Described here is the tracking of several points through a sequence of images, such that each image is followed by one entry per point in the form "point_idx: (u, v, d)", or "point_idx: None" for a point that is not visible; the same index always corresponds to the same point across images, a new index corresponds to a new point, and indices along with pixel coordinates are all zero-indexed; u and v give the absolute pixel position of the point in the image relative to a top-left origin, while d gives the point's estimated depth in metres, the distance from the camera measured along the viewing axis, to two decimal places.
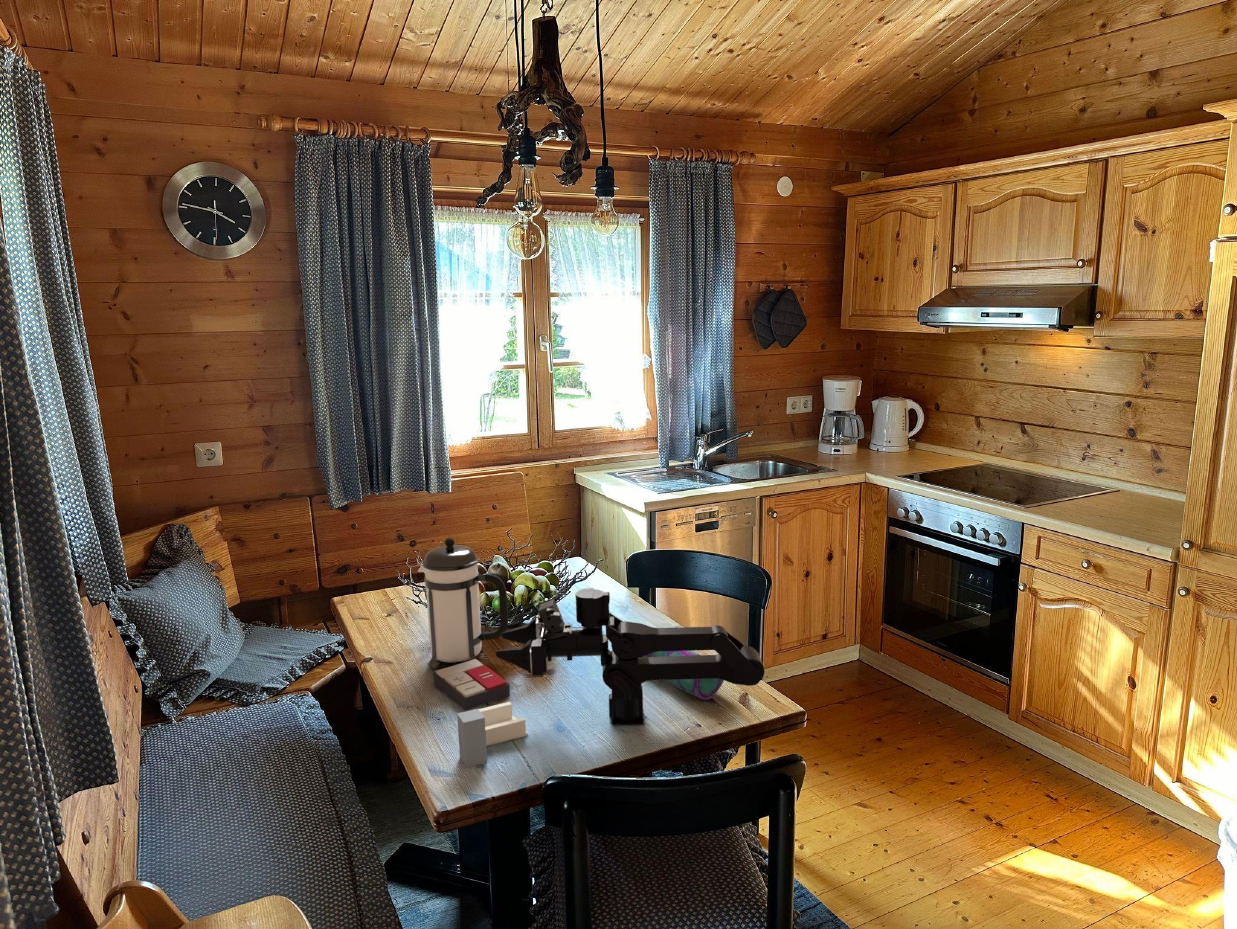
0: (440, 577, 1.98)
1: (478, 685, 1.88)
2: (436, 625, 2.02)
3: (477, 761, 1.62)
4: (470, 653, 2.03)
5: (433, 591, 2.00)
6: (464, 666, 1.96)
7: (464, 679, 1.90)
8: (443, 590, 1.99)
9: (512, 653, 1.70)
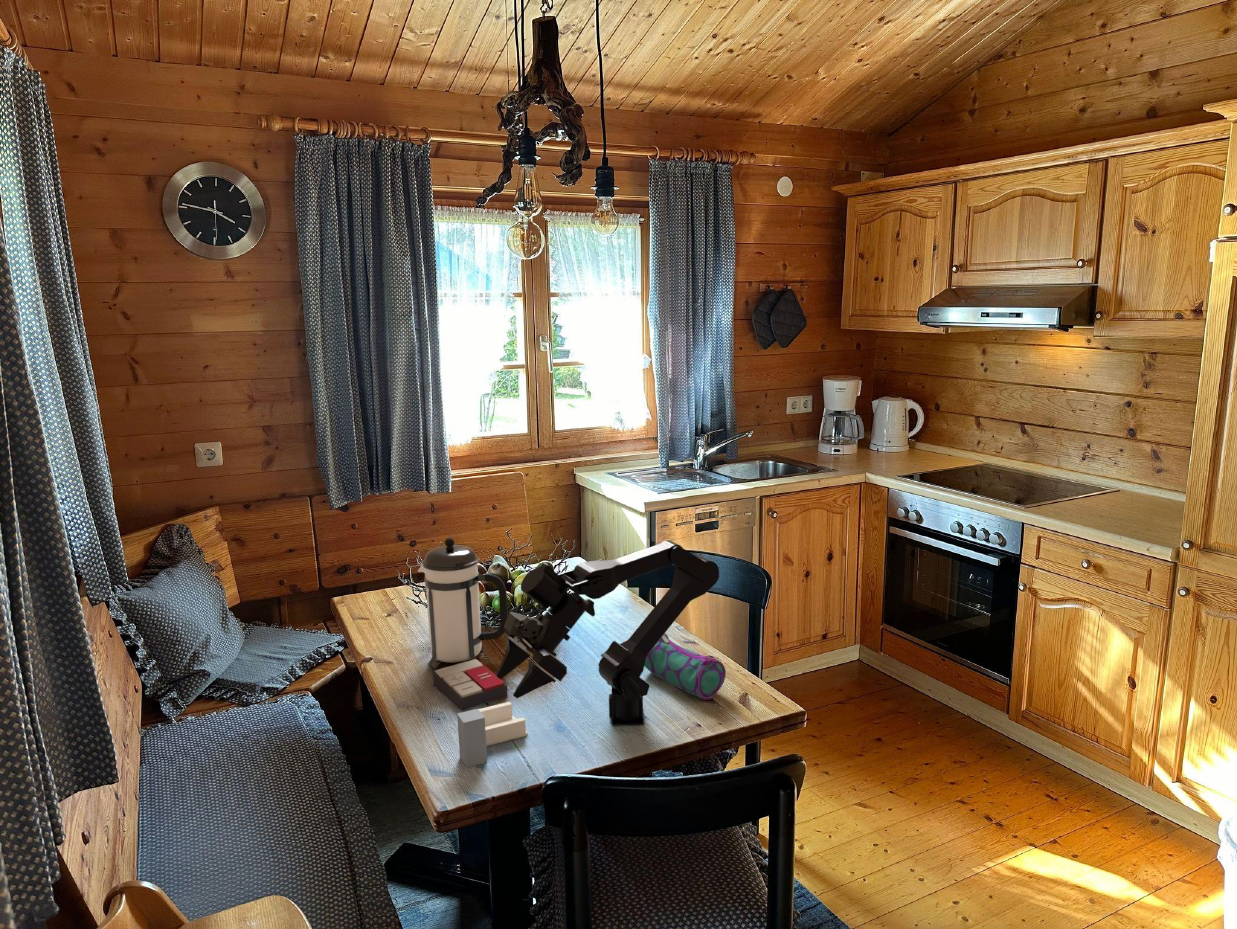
0: (440, 577, 1.98)
1: (475, 685, 1.87)
2: (436, 625, 2.02)
3: (477, 761, 1.62)
4: (470, 653, 2.03)
5: (433, 591, 2.00)
6: (464, 666, 1.96)
7: (462, 679, 1.90)
8: (443, 590, 1.99)
9: (526, 683, 1.60)
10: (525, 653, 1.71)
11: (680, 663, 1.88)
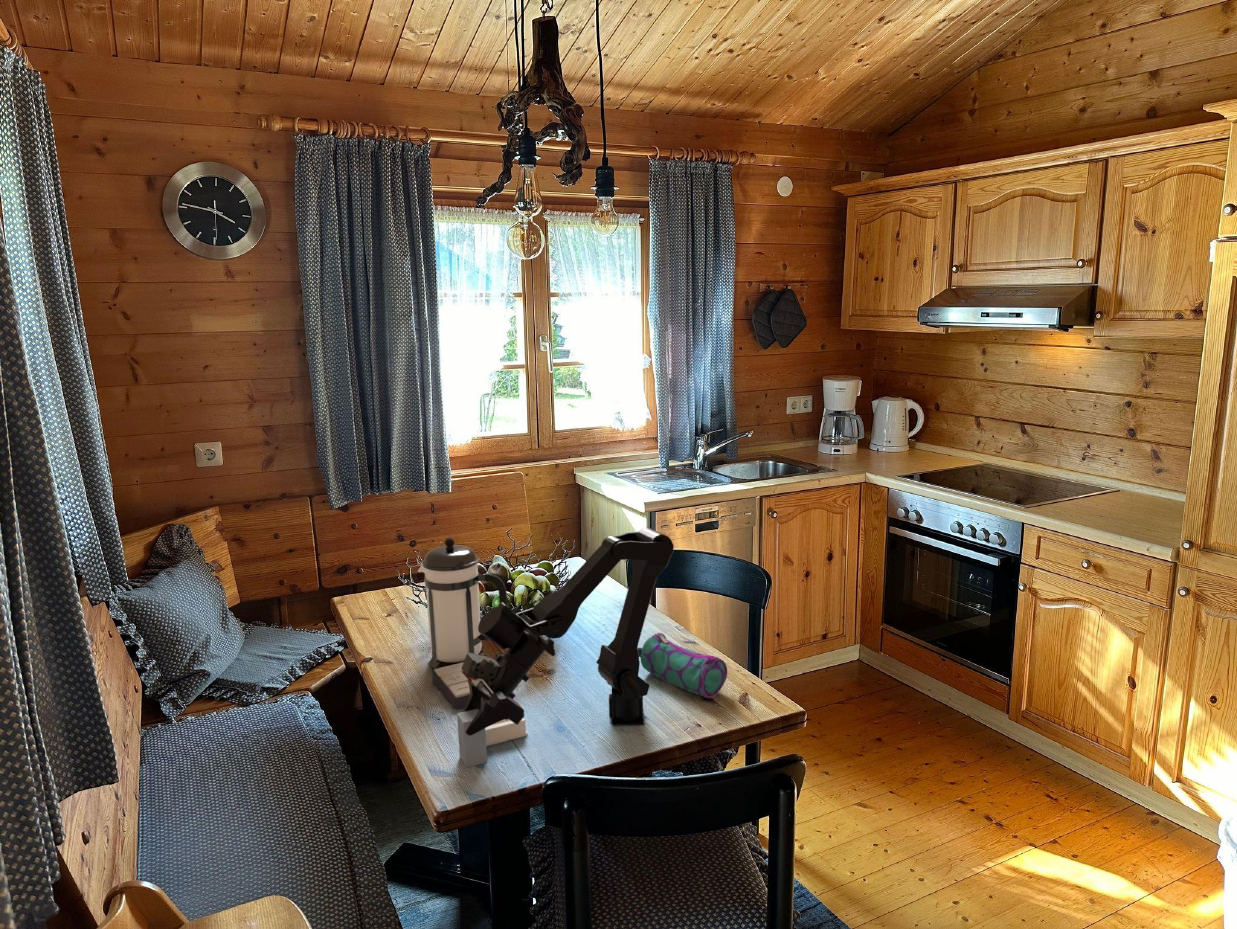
0: (440, 577, 1.98)
1: None
2: (436, 625, 2.02)
3: (477, 761, 1.62)
4: None
5: (433, 591, 2.00)
6: None
7: (459, 679, 1.90)
8: (443, 590, 1.99)
9: (479, 720, 1.60)
10: (489, 698, 1.66)
11: (682, 662, 1.88)
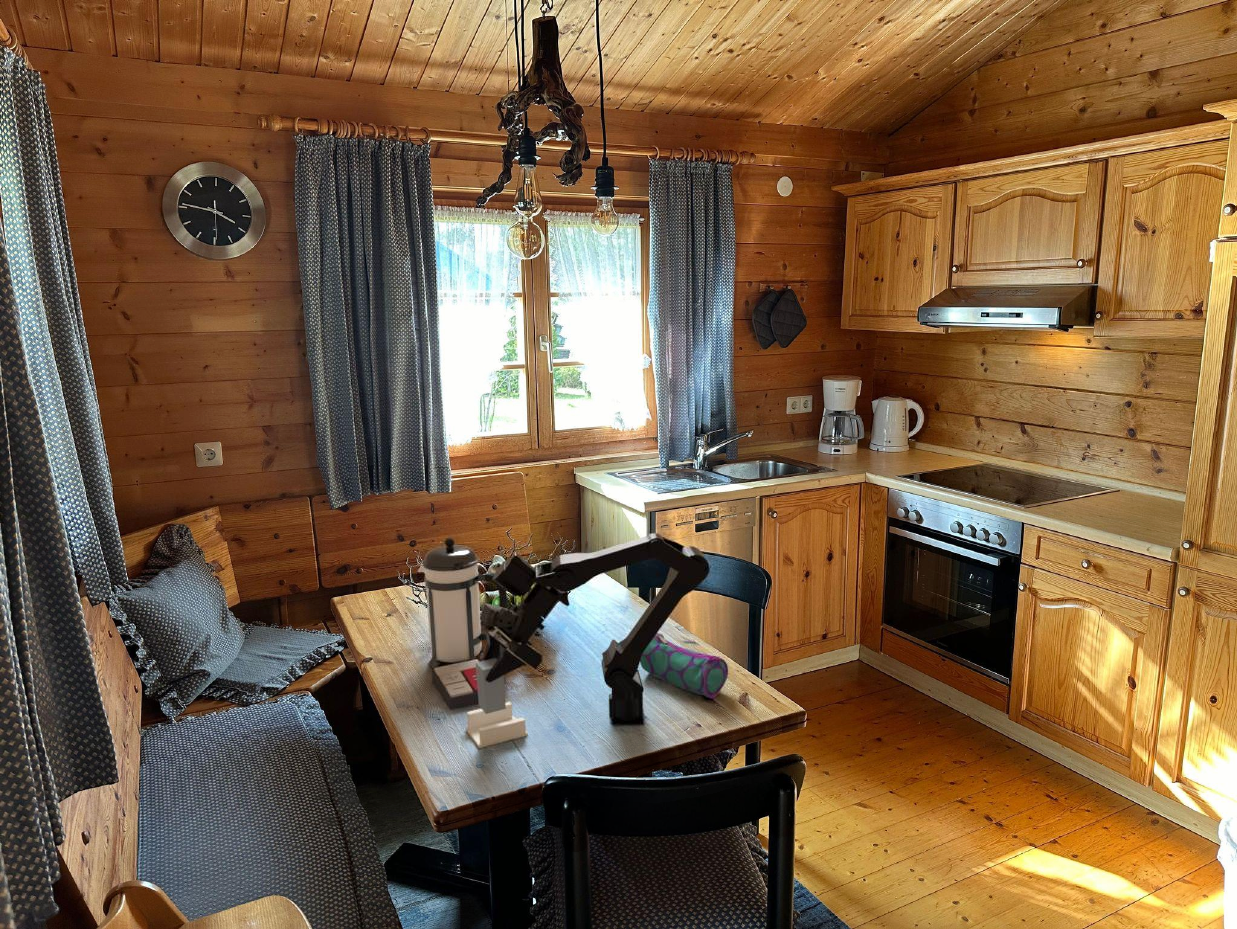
0: (440, 577, 1.99)
1: (467, 686, 1.87)
2: (436, 625, 2.02)
3: (496, 707, 1.68)
4: (470, 653, 2.03)
5: (433, 591, 2.00)
6: (463, 665, 1.97)
7: (456, 679, 1.90)
8: (443, 590, 1.99)
9: (498, 667, 1.66)
10: (506, 648, 1.73)
11: (683, 662, 1.88)
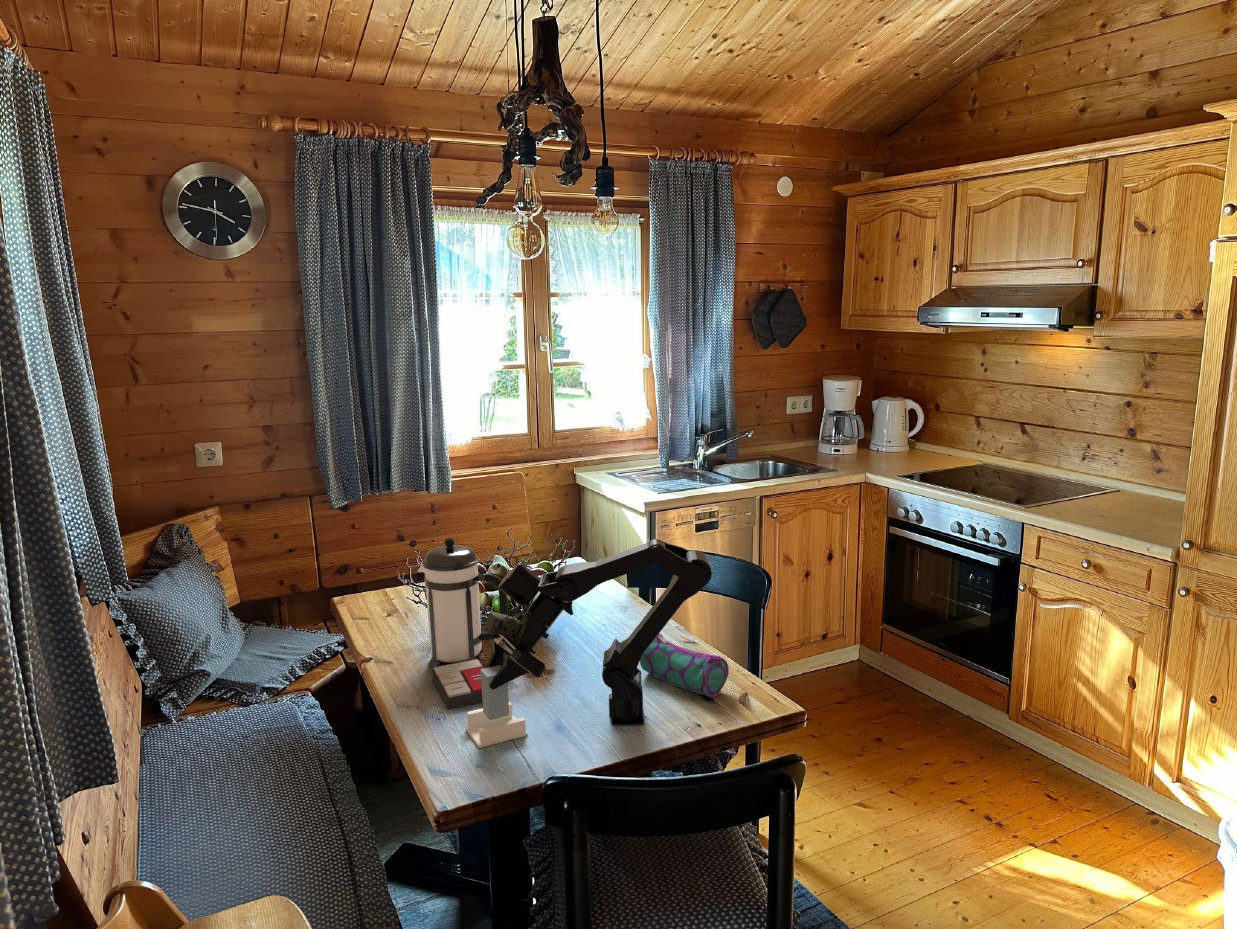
0: (440, 577, 1.98)
1: (465, 686, 1.87)
2: (436, 625, 2.02)
3: (500, 714, 1.71)
4: (470, 653, 2.03)
5: (433, 591, 2.00)
6: (463, 665, 1.97)
7: (455, 679, 1.90)
8: (443, 590, 1.99)
9: (502, 675, 1.68)
10: (510, 655, 1.75)
11: (684, 662, 1.88)
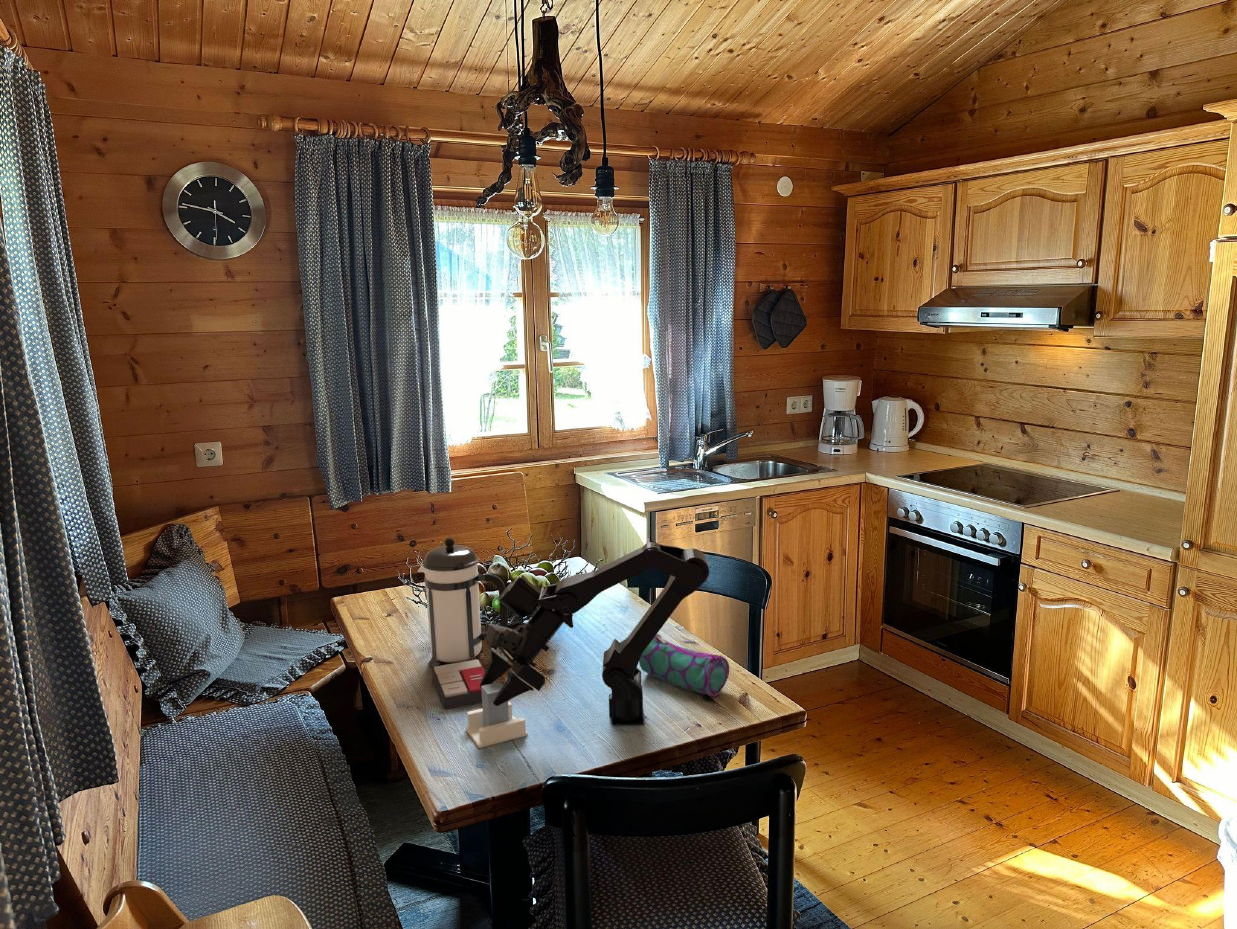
0: (440, 577, 1.98)
1: (463, 686, 1.87)
2: (436, 625, 2.02)
3: None
4: (470, 653, 2.03)
5: (433, 591, 2.00)
6: (462, 665, 1.97)
7: (453, 679, 1.90)
8: (443, 590, 1.99)
9: (505, 691, 1.67)
10: (507, 664, 1.77)
11: (685, 662, 1.88)
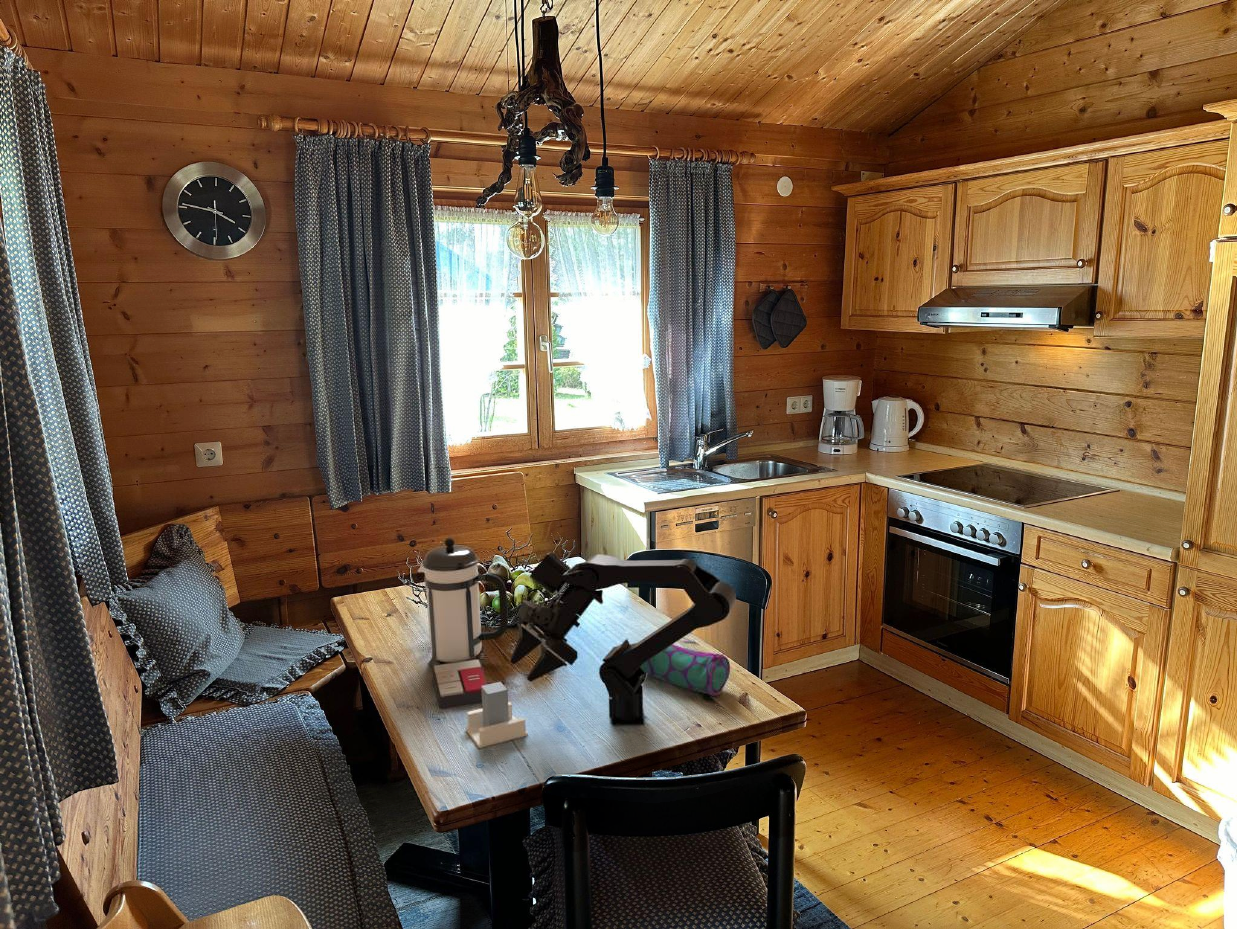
0: (440, 577, 1.98)
1: (459, 686, 1.87)
2: (436, 625, 2.02)
3: None
4: (470, 653, 2.03)
5: (433, 591, 2.00)
6: (462, 665, 1.97)
7: (451, 678, 1.90)
8: (443, 590, 1.99)
9: (539, 667, 1.69)
10: (537, 640, 1.80)
11: (686, 662, 1.88)
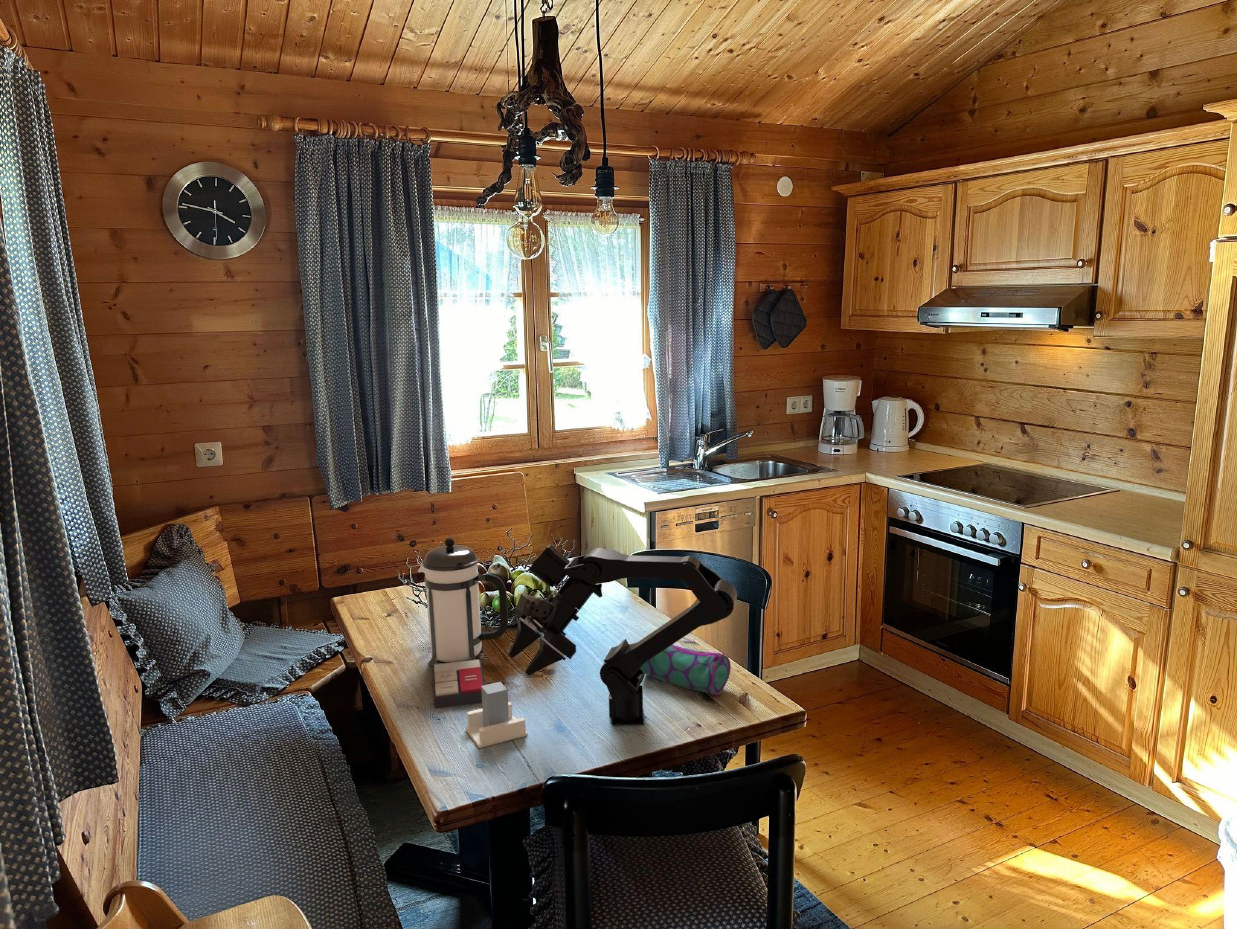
0: (440, 577, 1.98)
1: (455, 686, 1.87)
2: (436, 625, 2.02)
3: None
4: (470, 653, 2.03)
5: (433, 591, 2.00)
6: (462, 665, 1.97)
7: (448, 678, 1.91)
8: (443, 590, 1.99)
9: (538, 661, 1.68)
10: (536, 633, 1.79)
11: (687, 662, 1.88)
